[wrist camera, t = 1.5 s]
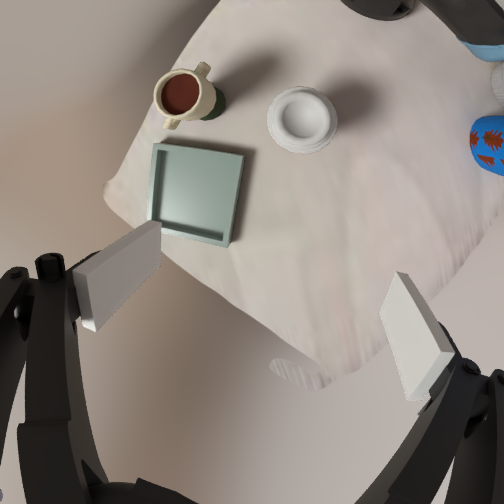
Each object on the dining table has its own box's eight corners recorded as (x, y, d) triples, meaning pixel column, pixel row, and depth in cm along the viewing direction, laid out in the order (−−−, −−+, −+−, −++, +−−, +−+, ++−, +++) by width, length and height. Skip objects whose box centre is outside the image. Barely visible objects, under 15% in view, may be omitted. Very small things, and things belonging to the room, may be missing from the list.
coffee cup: (313, 89, 39) (318, 72, 28) (339, 138, 42) (352, 137, 31) (263, 112, 42) (251, 102, 31) (289, 160, 44) (285, 166, 34)
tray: (159, 142, 46) (153, 143, 44) (245, 155, 45) (242, 156, 43) (152, 224, 53) (146, 228, 51) (230, 243, 52) (227, 248, 49)
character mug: (207, 68, 40) (176, 48, 28) (242, 86, 41) (221, 67, 29) (176, 121, 45) (138, 118, 33) (209, 139, 45) (178, 140, 33)
